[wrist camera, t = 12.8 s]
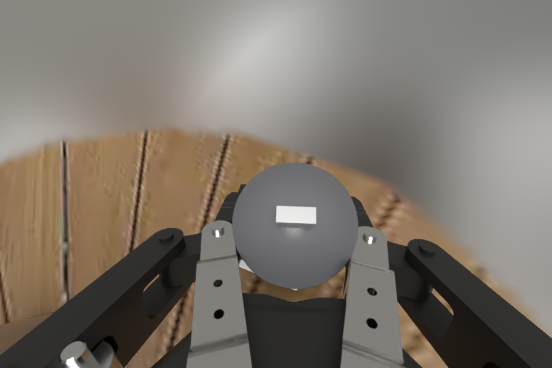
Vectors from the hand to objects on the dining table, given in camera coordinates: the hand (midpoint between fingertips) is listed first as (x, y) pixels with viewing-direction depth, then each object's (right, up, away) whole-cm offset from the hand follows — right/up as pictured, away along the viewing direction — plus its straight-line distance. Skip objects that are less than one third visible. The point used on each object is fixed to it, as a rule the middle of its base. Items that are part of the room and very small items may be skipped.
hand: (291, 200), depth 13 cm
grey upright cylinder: (0, -3, +3) cm, 4 cm away
